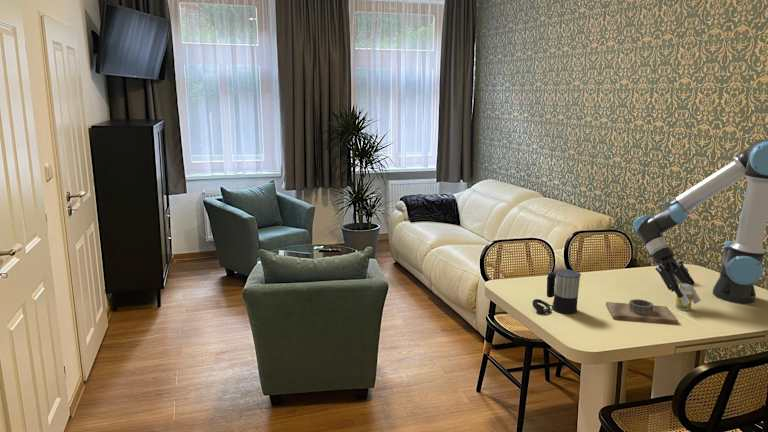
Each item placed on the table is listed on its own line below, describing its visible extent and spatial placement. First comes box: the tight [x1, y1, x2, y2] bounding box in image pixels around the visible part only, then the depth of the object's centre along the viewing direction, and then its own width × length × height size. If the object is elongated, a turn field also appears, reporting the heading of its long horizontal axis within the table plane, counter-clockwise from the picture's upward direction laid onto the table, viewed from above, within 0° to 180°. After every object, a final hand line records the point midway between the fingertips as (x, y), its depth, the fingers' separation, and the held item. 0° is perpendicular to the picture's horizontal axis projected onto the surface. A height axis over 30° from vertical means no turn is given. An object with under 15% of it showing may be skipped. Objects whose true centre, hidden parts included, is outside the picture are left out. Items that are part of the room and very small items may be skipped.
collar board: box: [605, 298, 679, 325], centre depth 218 cm, size 22×14×4 cm, turn 80°
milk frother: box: [532, 268, 582, 315], centre depth 219 cm, size 14×16×15 cm
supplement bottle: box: [675, 282, 693, 312], centre depth 224 cm, size 5×5×10 cm
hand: (692, 303), depth 221 cm, fingers closed on supplement bottle, 5 cm apart
